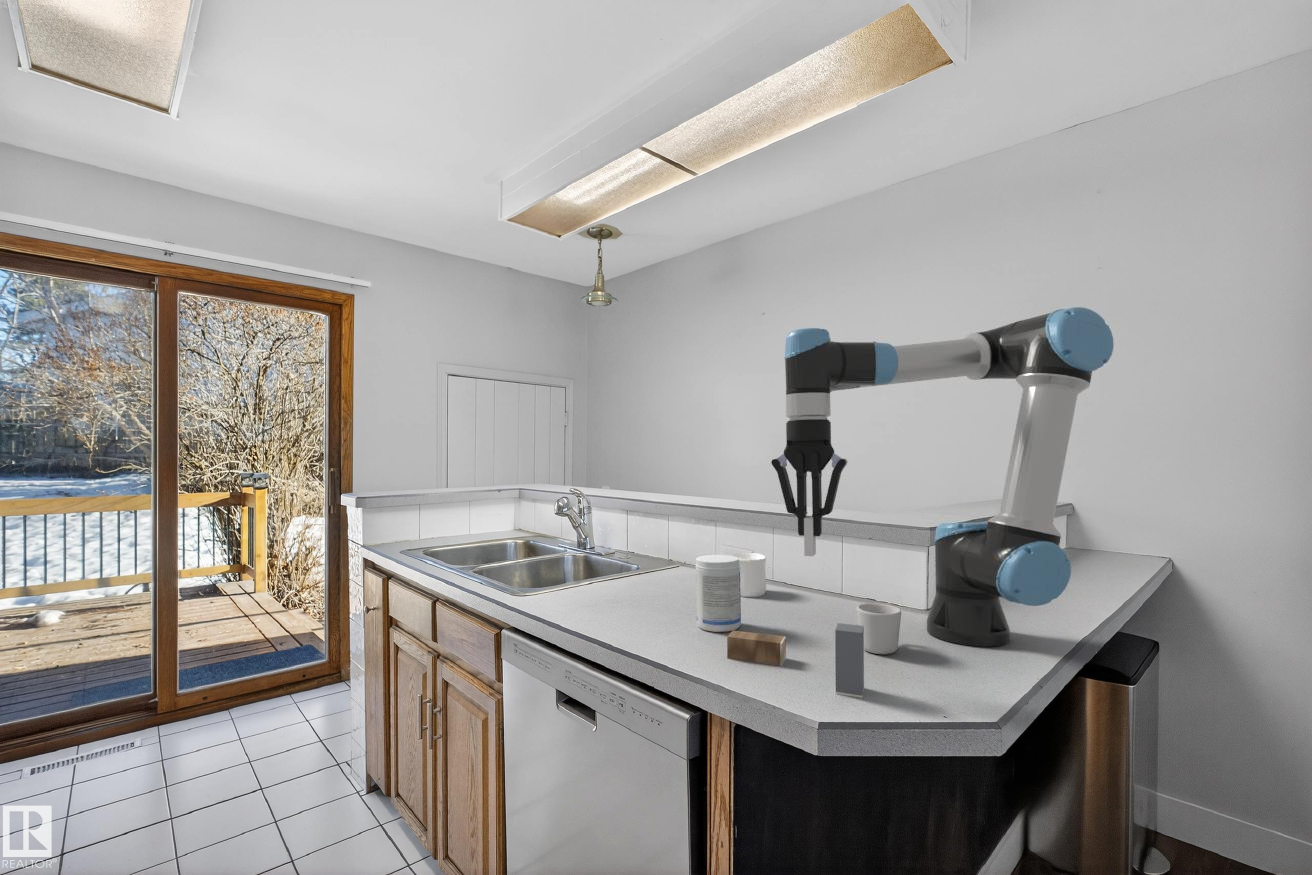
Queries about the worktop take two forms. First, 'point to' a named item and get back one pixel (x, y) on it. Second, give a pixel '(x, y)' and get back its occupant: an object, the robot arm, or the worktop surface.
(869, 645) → the cup
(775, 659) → the walnut block
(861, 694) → the charcoal block
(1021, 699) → the worktop surface
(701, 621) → the supplement tub
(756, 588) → the cup
